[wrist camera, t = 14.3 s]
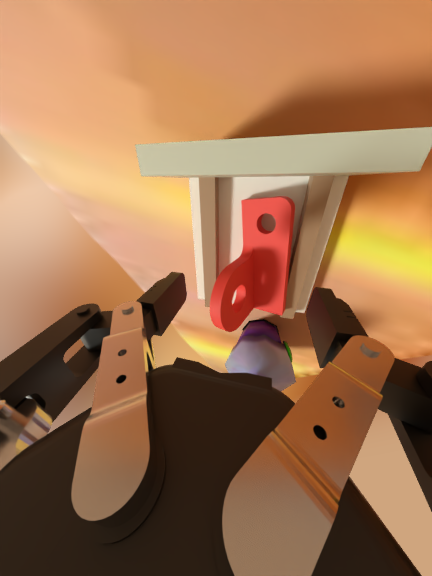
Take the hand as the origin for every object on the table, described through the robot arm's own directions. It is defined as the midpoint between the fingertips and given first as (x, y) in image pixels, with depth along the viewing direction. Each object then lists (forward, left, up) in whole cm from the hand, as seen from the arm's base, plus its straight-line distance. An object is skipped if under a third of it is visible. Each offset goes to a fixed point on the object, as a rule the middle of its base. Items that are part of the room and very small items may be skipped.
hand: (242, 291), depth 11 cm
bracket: (-2, +1, -9) cm, 9 cm away
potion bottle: (-3, +14, -11) cm, 18 cm away
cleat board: (0, 0, -11) cm, 11 cm away
